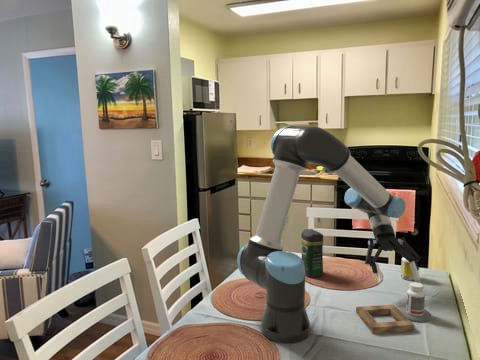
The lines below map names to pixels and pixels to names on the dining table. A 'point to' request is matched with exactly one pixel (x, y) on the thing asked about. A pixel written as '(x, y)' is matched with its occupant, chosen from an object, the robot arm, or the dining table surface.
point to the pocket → (384, 327)
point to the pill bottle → (415, 299)
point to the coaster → (423, 318)
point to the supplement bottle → (406, 270)
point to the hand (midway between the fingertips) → (399, 280)
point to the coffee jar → (312, 252)
